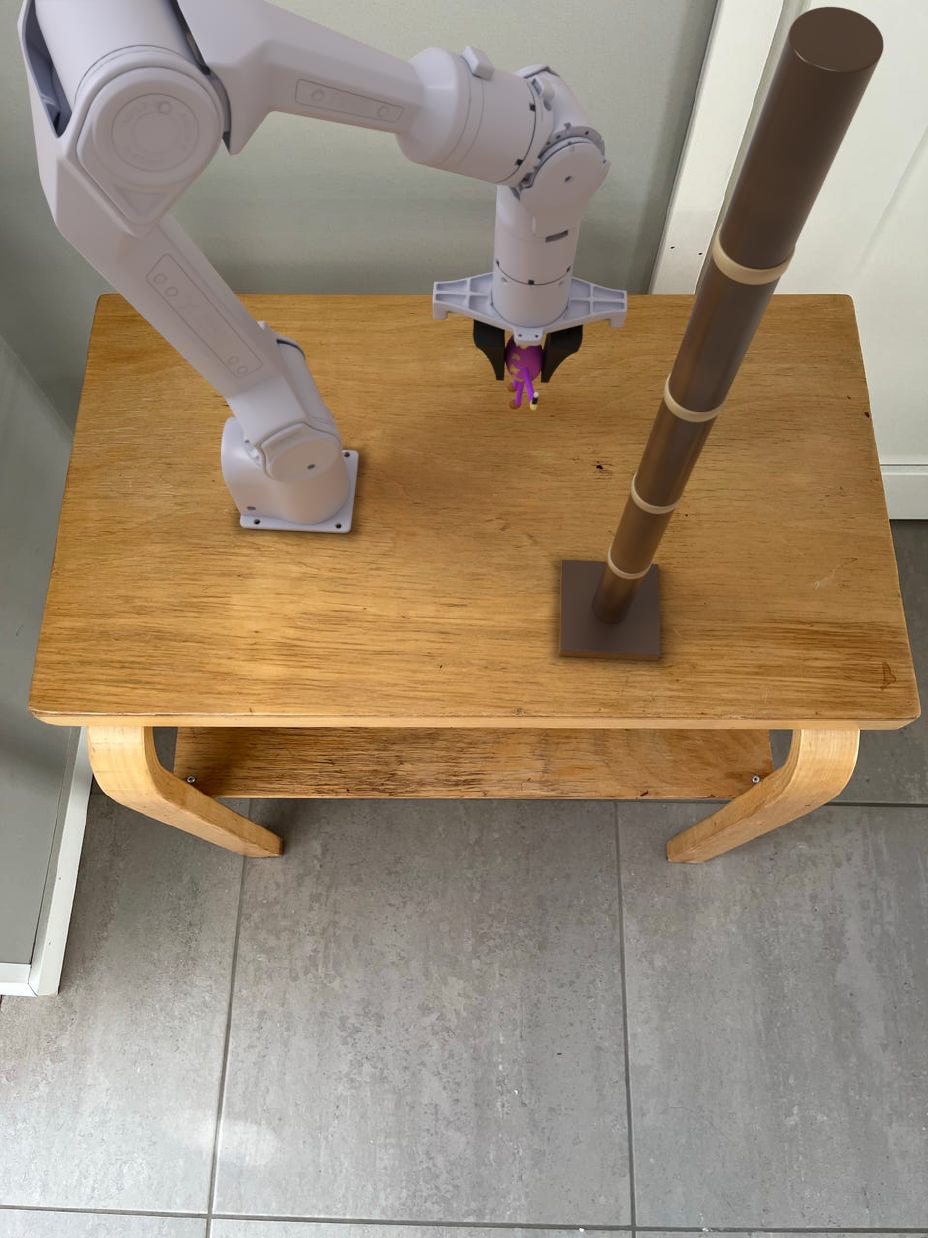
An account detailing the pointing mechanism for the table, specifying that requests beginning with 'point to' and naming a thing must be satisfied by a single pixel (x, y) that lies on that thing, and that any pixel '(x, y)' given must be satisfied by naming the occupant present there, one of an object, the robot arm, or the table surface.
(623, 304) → the robot arm
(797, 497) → the table surface
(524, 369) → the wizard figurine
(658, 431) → the measuring staff
